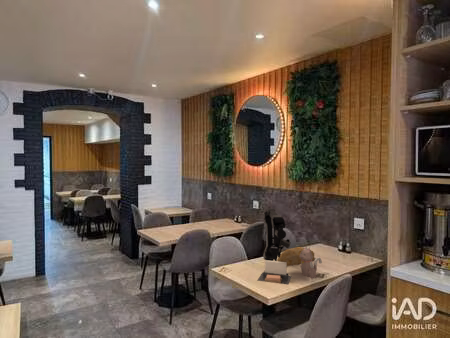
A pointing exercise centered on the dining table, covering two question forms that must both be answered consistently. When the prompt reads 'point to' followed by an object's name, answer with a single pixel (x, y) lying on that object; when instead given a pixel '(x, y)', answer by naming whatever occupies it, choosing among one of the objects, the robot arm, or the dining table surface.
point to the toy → (308, 263)
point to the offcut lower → (273, 281)
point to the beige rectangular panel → (275, 267)
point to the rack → (285, 278)
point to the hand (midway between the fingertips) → (277, 259)
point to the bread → (292, 256)
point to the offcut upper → (273, 277)
